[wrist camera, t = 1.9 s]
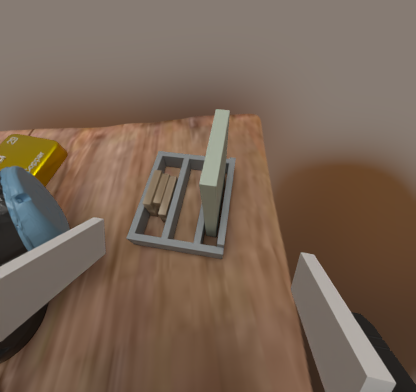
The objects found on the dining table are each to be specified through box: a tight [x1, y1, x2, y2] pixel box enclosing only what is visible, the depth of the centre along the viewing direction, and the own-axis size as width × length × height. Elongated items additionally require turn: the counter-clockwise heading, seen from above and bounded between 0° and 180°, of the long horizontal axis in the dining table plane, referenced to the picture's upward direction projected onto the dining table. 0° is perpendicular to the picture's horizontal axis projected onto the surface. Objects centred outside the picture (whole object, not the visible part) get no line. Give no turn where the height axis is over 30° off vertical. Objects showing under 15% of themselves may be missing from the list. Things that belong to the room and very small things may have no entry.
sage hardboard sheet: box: [199, 109, 230, 237], centre depth 34 cm, size 2×13×20 cm, turn 170°
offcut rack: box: [126, 151, 236, 259], centre depth 41 cm, size 18×21×6 cm
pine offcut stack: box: [142, 170, 178, 222], centre depth 42 cm, size 4×9×6 cm, turn 170°
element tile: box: [0, 134, 68, 187], centre depth 48 cm, size 15×15×5 cm
